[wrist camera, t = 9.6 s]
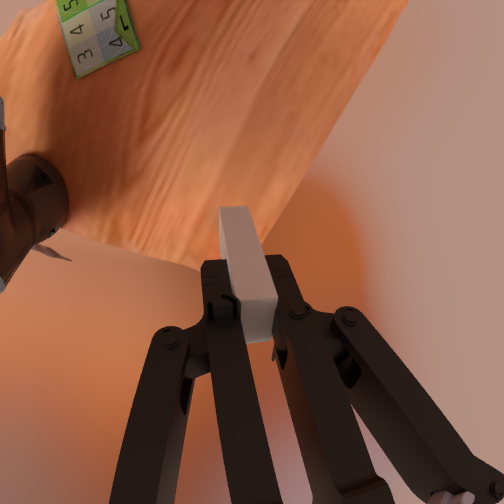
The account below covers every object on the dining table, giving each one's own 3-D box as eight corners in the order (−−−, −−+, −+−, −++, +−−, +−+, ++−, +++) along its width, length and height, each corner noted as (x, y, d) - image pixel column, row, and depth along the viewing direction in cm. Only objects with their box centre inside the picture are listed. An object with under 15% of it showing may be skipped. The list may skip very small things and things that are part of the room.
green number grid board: (112, -55, 20) (53, -23, 20) (109, -57, 19) (48, -24, 19) (141, 49, 31) (79, 78, 32) (139, 49, 30) (75, 79, 31)
